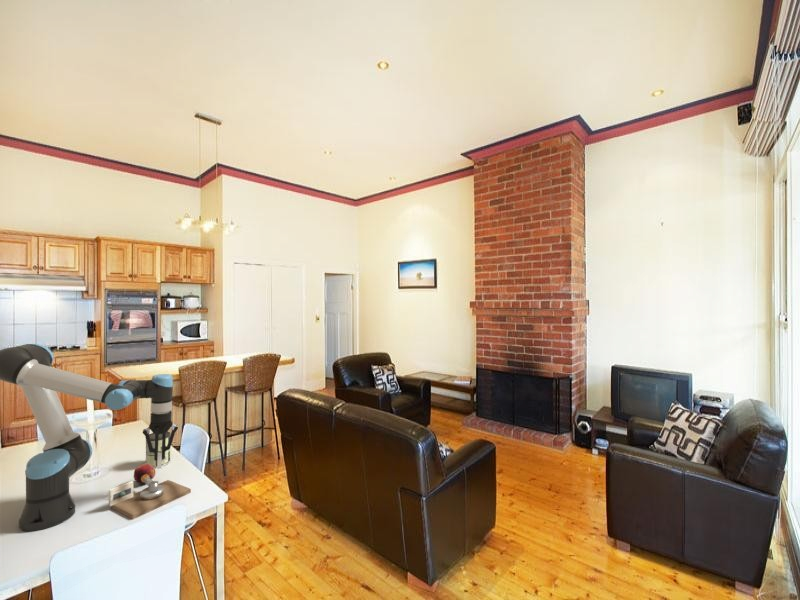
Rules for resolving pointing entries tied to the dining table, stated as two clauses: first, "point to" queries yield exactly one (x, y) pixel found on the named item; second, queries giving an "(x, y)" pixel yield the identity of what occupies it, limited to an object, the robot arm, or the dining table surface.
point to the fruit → (143, 472)
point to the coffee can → (150, 456)
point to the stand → (135, 506)
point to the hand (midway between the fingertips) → (159, 467)
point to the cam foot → (151, 488)
